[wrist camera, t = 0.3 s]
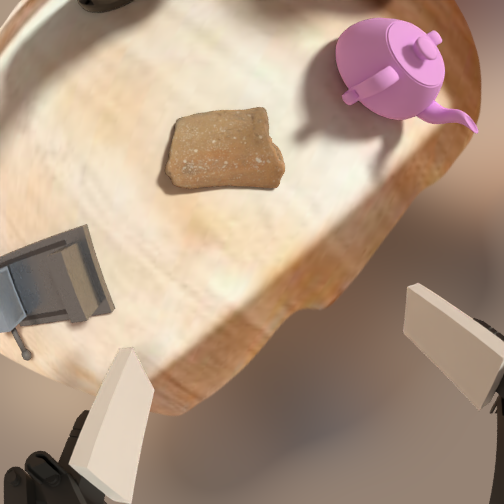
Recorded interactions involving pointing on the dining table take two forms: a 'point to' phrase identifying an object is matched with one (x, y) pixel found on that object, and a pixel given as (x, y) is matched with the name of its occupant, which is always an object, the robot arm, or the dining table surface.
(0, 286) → the block
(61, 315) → the vise
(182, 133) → the stone
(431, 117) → the teapot
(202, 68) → the dining table surface
